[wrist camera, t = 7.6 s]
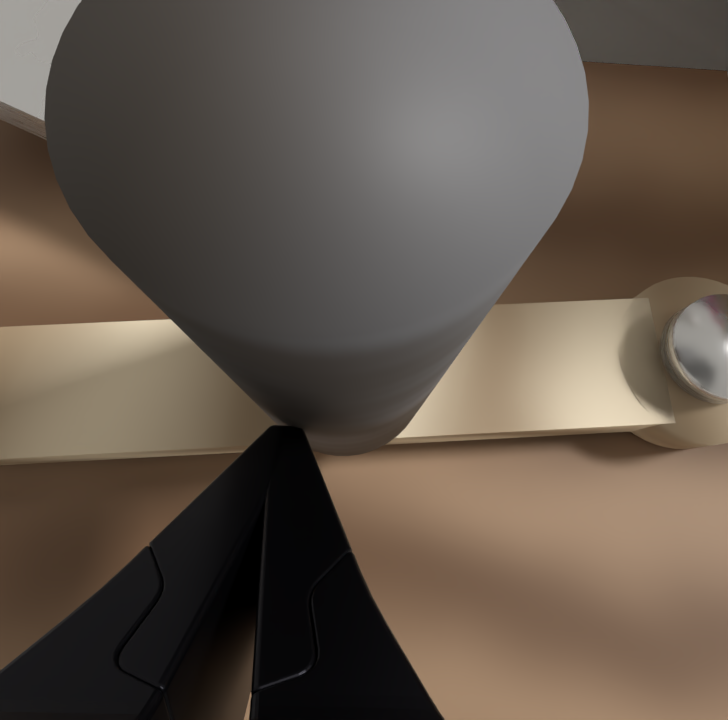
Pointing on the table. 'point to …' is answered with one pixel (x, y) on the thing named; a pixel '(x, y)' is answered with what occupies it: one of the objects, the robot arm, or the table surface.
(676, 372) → the steel keeper
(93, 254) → the walnut board
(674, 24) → the table surface
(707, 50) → the table surface
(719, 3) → the table surface
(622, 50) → the table surface
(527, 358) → the link
